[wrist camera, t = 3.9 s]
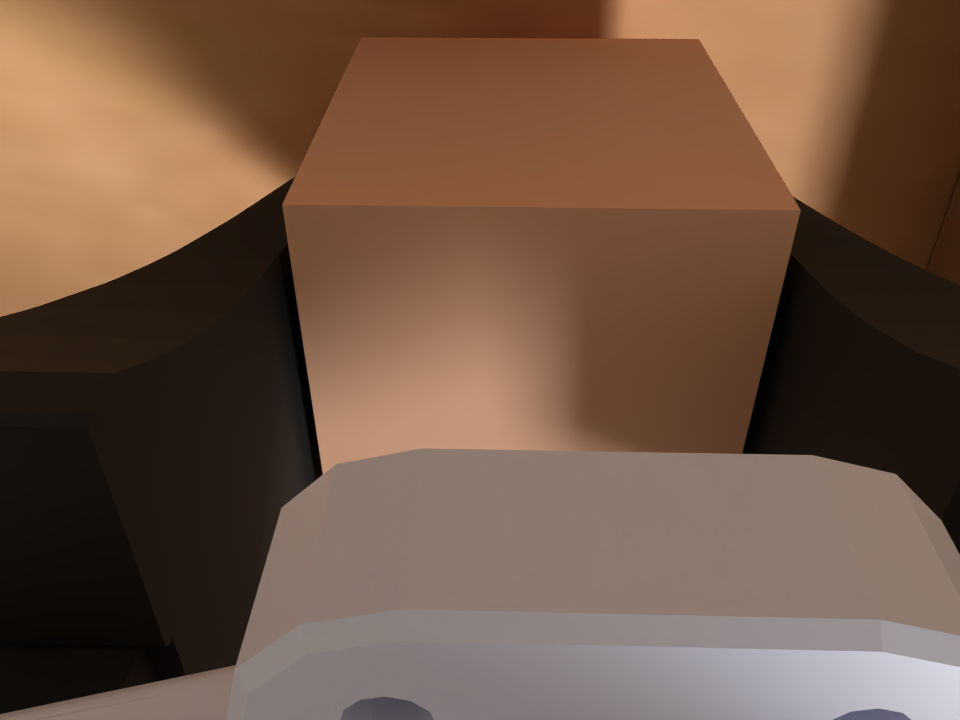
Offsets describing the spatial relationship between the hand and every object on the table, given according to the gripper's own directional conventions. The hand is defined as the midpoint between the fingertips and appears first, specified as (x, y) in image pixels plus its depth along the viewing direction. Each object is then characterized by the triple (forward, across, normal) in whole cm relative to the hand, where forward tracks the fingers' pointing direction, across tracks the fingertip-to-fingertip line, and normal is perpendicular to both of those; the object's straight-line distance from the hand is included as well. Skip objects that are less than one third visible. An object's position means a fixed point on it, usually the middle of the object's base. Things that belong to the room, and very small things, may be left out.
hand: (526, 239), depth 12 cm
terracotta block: (+1, 0, 0) cm, 1 cm away
